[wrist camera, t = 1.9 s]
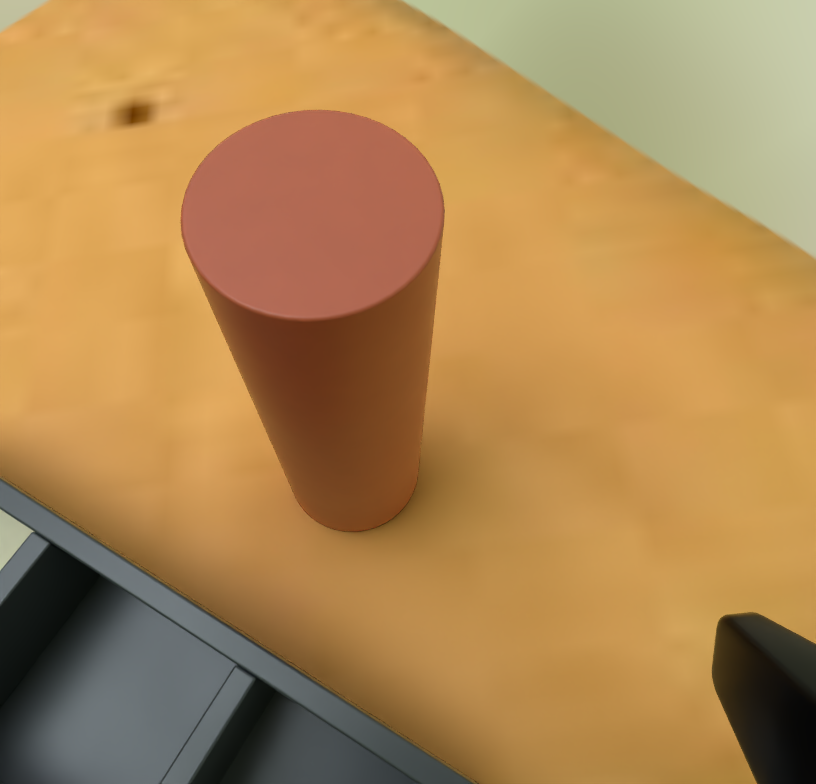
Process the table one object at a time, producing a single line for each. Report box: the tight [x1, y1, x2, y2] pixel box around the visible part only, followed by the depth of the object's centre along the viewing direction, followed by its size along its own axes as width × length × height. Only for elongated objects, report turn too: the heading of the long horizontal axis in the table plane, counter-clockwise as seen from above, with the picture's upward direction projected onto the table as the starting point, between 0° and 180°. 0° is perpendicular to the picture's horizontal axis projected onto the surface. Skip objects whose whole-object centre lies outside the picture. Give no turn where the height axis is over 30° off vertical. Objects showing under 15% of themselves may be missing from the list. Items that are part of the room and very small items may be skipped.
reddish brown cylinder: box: [181, 110, 445, 532], centre depth 16 cm, size 4×4×12 cm
